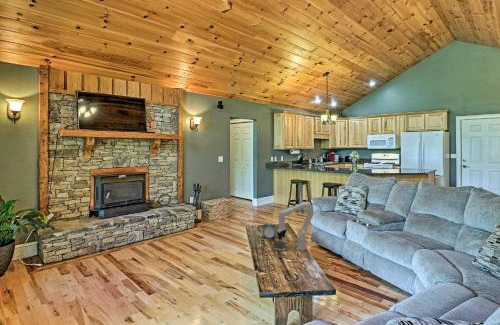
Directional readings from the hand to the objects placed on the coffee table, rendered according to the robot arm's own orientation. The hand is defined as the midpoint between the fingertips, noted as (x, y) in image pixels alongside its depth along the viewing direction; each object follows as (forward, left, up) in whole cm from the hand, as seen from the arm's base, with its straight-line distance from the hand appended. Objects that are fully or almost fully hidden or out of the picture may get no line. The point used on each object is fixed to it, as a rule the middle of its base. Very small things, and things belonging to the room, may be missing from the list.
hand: (281, 238), depth 266 cm
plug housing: (+4, -2, -8) cm, 9 cm away
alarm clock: (-23, -23, -10) cm, 34 cm away
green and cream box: (+4, 0, -9) cm, 10 cm away
